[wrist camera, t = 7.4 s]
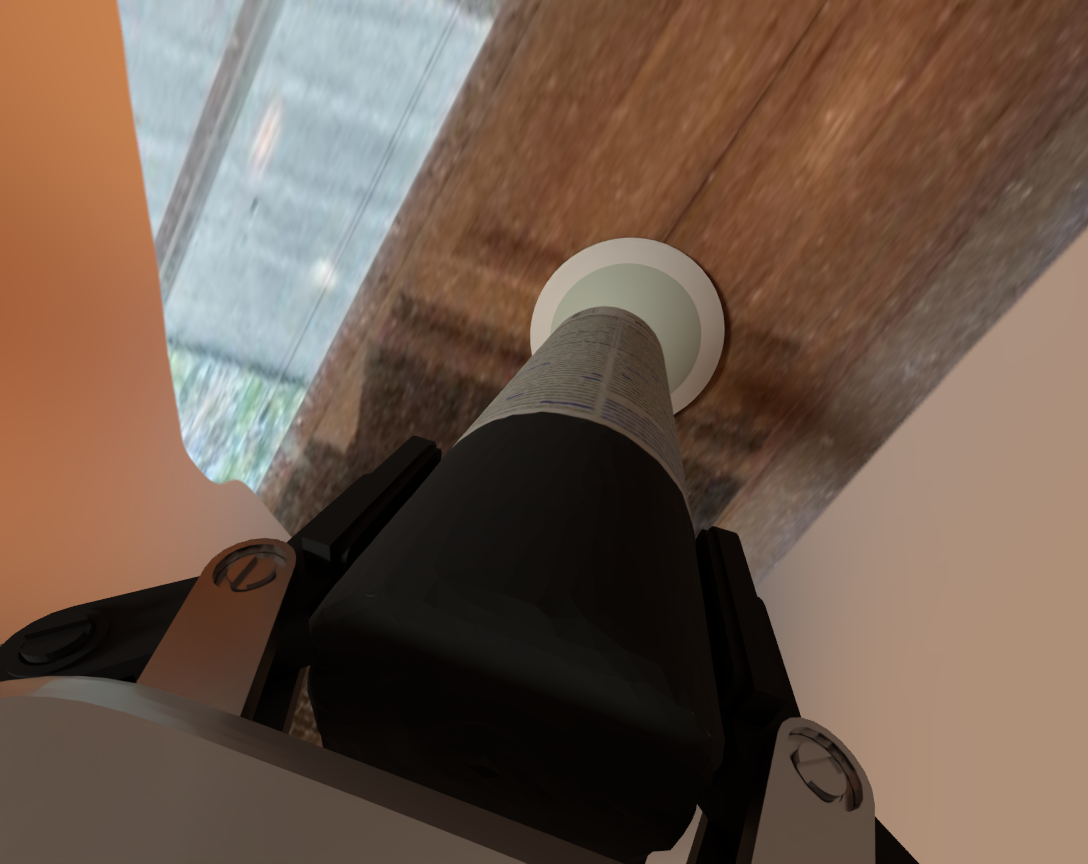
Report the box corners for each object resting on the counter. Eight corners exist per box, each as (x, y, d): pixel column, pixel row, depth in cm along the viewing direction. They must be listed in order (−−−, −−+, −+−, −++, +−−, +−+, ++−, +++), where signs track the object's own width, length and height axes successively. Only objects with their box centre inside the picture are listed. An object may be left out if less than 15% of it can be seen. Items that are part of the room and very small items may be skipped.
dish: (554, 215, 36) (551, 215, 35) (757, 265, 35) (761, 266, 33) (519, 396, 45) (516, 401, 44) (679, 442, 43) (680, 448, 42)
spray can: (535, 399, 25) (294, 793, 8) (560, 286, 22) (240, 526, 4) (641, 429, 25) (640, 930, 7) (682, 318, 21) (872, 740, 4)
